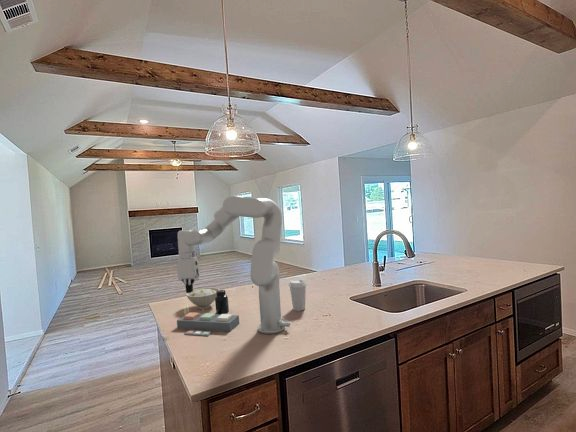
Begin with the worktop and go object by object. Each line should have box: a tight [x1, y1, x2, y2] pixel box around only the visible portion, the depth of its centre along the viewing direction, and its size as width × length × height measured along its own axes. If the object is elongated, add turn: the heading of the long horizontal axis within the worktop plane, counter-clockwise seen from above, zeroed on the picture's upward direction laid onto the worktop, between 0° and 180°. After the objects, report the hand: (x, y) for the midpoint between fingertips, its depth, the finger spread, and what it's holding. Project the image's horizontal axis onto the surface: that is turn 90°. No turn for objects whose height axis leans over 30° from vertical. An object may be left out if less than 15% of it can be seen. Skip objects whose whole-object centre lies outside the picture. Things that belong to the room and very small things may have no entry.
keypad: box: [176, 313, 240, 333], centre depth 155 cm, size 28×10×4 cm, turn 74°
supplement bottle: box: [214, 289, 230, 315], centre depth 172 cm, size 7×7×12 cm
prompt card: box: [184, 329, 213, 337], centre depth 146 cm, size 12×4×1 cm, turn 74°
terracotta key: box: [183, 311, 200, 320], centre depth 157 cm, size 5×5×3 cm
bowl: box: [185, 286, 221, 310], centre depth 185 cm, size 19×19×10 cm
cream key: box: [217, 313, 233, 321], centre depth 152 cm, size 5×5×3 cm
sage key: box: [200, 312, 216, 320], centre depth 155 cm, size 5×5×3 cm
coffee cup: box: [288, 278, 307, 312], centre depth 172 cm, size 10×10×15 cm
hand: (189, 292), depth 157 cm, fingers closed
